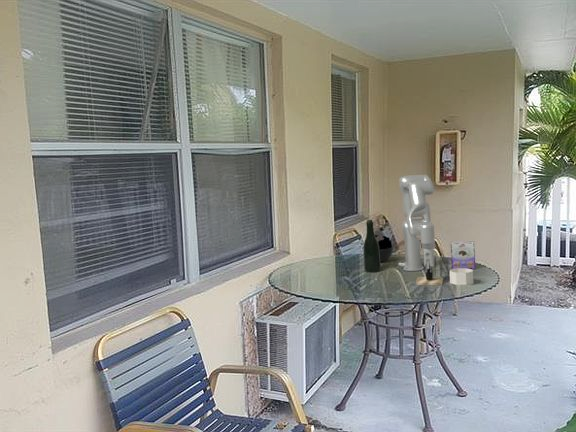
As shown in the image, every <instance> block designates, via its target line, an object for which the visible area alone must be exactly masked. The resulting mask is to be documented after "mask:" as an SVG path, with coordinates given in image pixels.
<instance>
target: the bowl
mask: <svg viewBox="0 0 576 432" xmlns="http://www.w3.org/2000/svg"><path fill="white" fill-rule="evenodd" d="M449 283H450V284H452V285H455V286H468V285H471V286H473V285H474V269H467V268H456V269H452V268H451V269H449ZM472 284H473V285H472Z"/></svg>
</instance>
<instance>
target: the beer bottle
mask: <svg viewBox="0 0 576 432" xmlns="http://www.w3.org/2000/svg"><path fill="white" fill-rule="evenodd" d="M365 224H366V234H365V235H366V236H365V239H364V242H363V249H362V250H363V268H364V269H363V270H364V271H365V272H366V271H367V272H366V273H377V271H378V272H380V271H381V270H382V268H381V267H382V266H381V265H382V264H381V262H380V250H379V244H378V242H379V241H378V240H377V237H375V235H376V234H375V231H374V230H375V229H374V228H375V227H374V222H373V220H372V219H367V220H366V223H365Z"/></svg>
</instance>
